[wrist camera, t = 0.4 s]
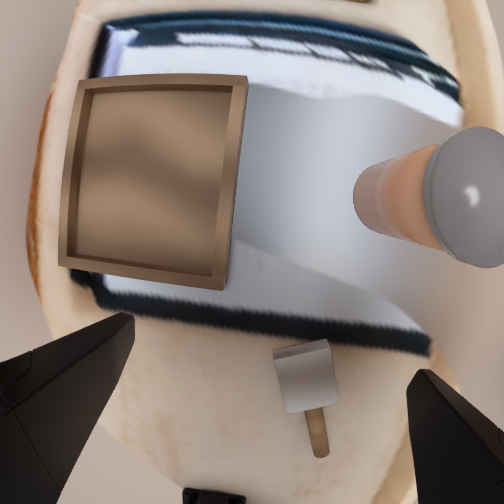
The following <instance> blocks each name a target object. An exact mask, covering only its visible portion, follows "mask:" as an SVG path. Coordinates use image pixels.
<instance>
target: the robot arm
mask: <svg viewBox="0 0 504 504" xmlns="http://www.w3.org/2000/svg"><path fill="white" fill-rule="evenodd" d="M134 340H135V319H134V316H133V315H131V314H128V313H124V312H120V313H117V314H115V315H113V316H110V317H108V318H106V319H103V320H101V321H99V322H96V323H94V324H92V325H90V326H87V327H85V328H83V329H80V330H78V331H76V332H73V333H71V334H69V335H66V336H64V337H62V338H59V339H57V340H55V341H52V342H50V343H48V344H45V345H43V346H41V347H38V348H36V349H33V351H29V352H26V353H24V354H22V355H19V356H17V357H14V358H12V359H9V360H7V361H3V362H0V504H56V503H57V501H58V499H59V497H60V495H61V491H62V490H63V488H64V485H65V484H66V482H67V479H68V477H69V476H70V474H71V472H72V469H73V467H74V465H75V463H76V461H77V459H78V457H79V456H80V454H81V451H82V450H83V448H84V446H85V444H86V442H87V440H88V438H89V436H90V434H91V432H92V430H93V428H94V426H95V424H96V423H97V421H98V419H99V417H100V415H101V413H102V411H103V409H104V408H105V406H106V404H107V402H108V400H109V398H110V396H111V395H112V393H113V391H114V389H115V387H116V385H117V383H118V381H119V379H120V376H121V374H122V371H123V369H124V366H125V364H126V361H127V359H128V356H129V354H130V351H131V349H132V347H133V344H134ZM406 396H407V409H408V423H409V434H410V441H411V447H412V454H413V461H414V469H415V476H416V485H417V494H418V504H504V432H503V431H502V430H501V429H500V428H497V426H496V425H495V424H494V423H493V422H492V421H491V420H489V419H488V418H487V417H486V416H484V414H482V413H481V412H480V411H479V410H478V409H477V408H475V407H474V406H473V405H472V404H471V403H469V402H468V401H467V400H466V399H465V398H464V397H462V396H461V395H460V394H459V393H458V392H457V391H455V390H454V389H453V388H452V387H451V386H449V385H448V384H447V383H446V382H445V381H443V380H442V379H441V378H440V377H439V376H437V375H436V374H435V373H434V372H433V371H431V370H429V369H419V370H418V371H417V372H416V374H415V375H414V377H413V379H412V380H411V382H410V384H409V385H408V387H407V391H406ZM182 497H183V504H245V503H246V498H245V497H242V496H233V495H225V494H218V493H211V492H204V491H198V490H193V489H187V488H186V489H183V492H182Z"/></svg>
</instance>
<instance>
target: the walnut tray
mask: <svg viewBox="0 0 504 504" xmlns="http://www.w3.org/2000/svg"><path fill="white" fill-rule="evenodd" d="M248 87H249V86H248V79H247V76H242V75H225V74H190V73H177V74H142V75H126V76H113V77H103V78H93V79H85V80H79V82H78V87H77V91H76V96H75V100H74V105H73V110H72V115H71V121H70V126H69V132H68V139H67V145H66V152H65V160H64V168H63V177H62V187H61V199H60V214H59V240H58V266H63V267H68V268H74V269H80V270H85V271H91V272H97V273H103V274H109V275H116V276H122V277H128V278H135V279H141V280H148V281H155V282H161V283H168V284H175V285H182V286H190V287H197V288H204V289H212V290H220V291H223V289H224V287H225V285H226V281H227V271H228V261H229V251H230V241H231V232H232V222H233V213H234V204H235V195H236V186H237V176H238V168H239V159H240V151H241V143H242V135H243V126H244V118H245V110H246V102H247V94H248Z"/></svg>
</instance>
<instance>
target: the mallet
mask: <svg viewBox="0 0 504 504" xmlns="http://www.w3.org/2000/svg"><path fill="white" fill-rule="evenodd" d="M273 354H274V363H275V367H276V371H277V375H278V379H279V383H280V387H281V391H282V395H283V399H284V403H285V407H286V411H287V414H292V413H297V412H301V411H305V415H306V420H307V424H308V429H309V434H310V438H311V443H312V448H313V453H314V456H315V457H317V458H323V457H326V456H327V455H328V454H329V452H330V451H329V445H328V439H327V433H326V427H325V422H324V416H323V410H322V407H324V406H328V405H332V404H336V403H339V400H338V393H337V386H336V380H335V374H334V367H333V361H332V355H331V349H330V346H329V343H328V341H327V339H326V338H325V339H321V340H317V341H313V342H309V343H304V344H300V345H296V346H291V347H287V348H282V349H277V350H273Z"/></svg>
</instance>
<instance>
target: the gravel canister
mask: <svg viewBox="0 0 504 504" xmlns="http://www.w3.org/2000/svg"><path fill="white" fill-rule="evenodd" d="M353 203H354V208H355V211H356V213H357V215H358V217H359V219H360V220H361V221H362V223H363V224H364V225H365V226H367V227H368V228H369V229H371V230H373V231H375V232H378V233H382V234H385V235H389V236H393V237H396V238H400V239H403V240H407V241H411V242H414V243H418V244H421V245H425V246H428V247H432V248H435V249H439V250H442V251H446V252H447V253H448V254H449V255H450V256H452V257H454V258H455V259H457V260H459V261H461V262H464V263H467V264H470V265H473V266H476V267H481V268H493V267H497V266H500V265H502V264H503V263H504V136H503V135H502V134H500V133H499V132H497V131H495V130H493V129H490V128H487V127H472V128H468V129H465V130H462V131H459V132H456V133H454V134H451V135H449V136H448V137H446V138H445V139H444V140H443V141H442V142H441V143H439V144H435V145H432V146H430V147H426V148H423V149H420V150H417V151H414V152H411V153H408V154H405V155H402V156H399V157H396V158H393V159H390V160H387V161H384V162H382V163H379V164H376V165H373V166H371V167H369V168H367V169H366V170H365V171H364V172H363V173H362V174H361V175H360V176H359V178H358V180H357V181H356V184H355V187H354V192H353Z"/></svg>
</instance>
